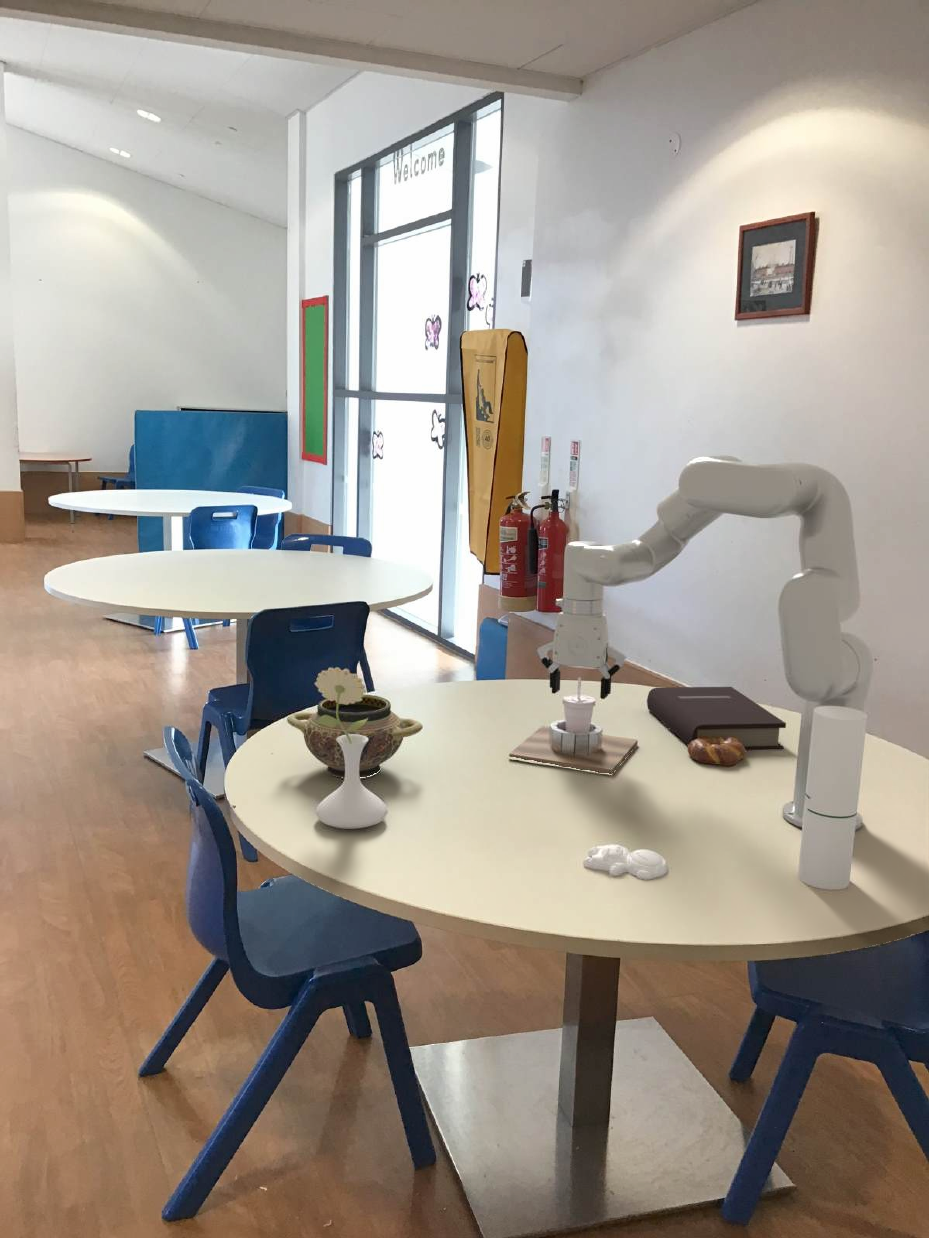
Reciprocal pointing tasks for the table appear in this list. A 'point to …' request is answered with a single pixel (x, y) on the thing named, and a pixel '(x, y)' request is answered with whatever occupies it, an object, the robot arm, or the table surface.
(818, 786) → the cylindrical container
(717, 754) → the pretzel
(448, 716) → the table surface
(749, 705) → the book
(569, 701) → the smoothie
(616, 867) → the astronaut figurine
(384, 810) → the flower in vase
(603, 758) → the walnut board
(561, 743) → the steel sleeve
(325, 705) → the ceramic bowl
